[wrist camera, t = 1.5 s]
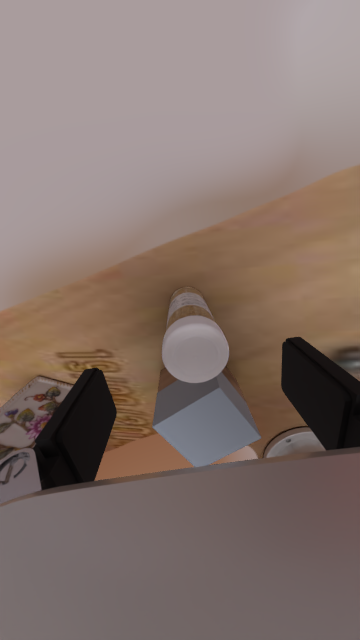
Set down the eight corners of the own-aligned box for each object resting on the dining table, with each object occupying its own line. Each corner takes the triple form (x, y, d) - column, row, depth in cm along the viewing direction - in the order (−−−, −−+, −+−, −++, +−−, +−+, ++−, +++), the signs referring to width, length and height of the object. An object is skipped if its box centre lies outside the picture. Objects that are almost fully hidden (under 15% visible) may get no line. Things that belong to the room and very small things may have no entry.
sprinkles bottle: (189, 326, 27) (200, 396, 14) (162, 306, 26) (147, 363, 13) (211, 299, 25) (245, 351, 13) (183, 278, 24) (190, 310, 12)
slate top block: (246, 402, 25) (261, 438, 21) (194, 431, 27) (198, 470, 22) (210, 358, 23) (219, 387, 18) (157, 392, 25) (152, 427, 20)
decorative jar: (115, 394, 31) (36, 576, 14) (99, 445, 34) (21, 639, 17) (34, 372, 29) (-166, 546, 12) (27, 428, 33) (-134, 622, 16)
